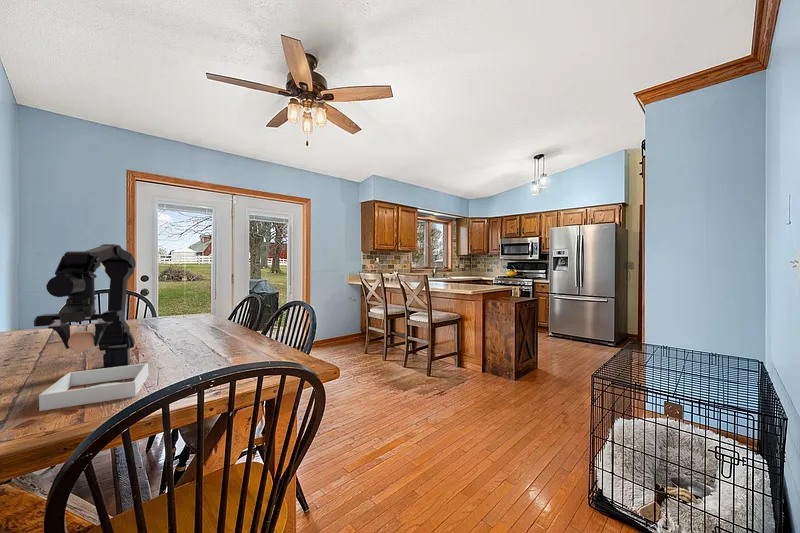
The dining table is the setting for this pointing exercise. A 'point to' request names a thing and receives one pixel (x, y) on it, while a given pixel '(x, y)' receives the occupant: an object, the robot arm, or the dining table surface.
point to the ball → (81, 341)
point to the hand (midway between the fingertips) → (82, 347)
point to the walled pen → (98, 393)
